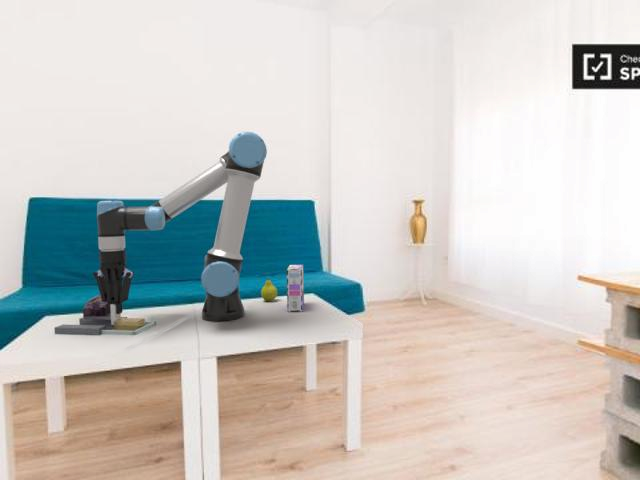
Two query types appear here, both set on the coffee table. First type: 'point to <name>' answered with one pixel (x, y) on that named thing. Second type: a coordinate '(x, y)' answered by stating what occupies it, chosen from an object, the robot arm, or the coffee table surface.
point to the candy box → (295, 288)
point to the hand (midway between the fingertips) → (116, 323)
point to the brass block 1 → (121, 324)
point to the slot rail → (87, 326)
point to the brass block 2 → (134, 324)
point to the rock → (96, 307)
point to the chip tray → (116, 332)
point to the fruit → (268, 291)
